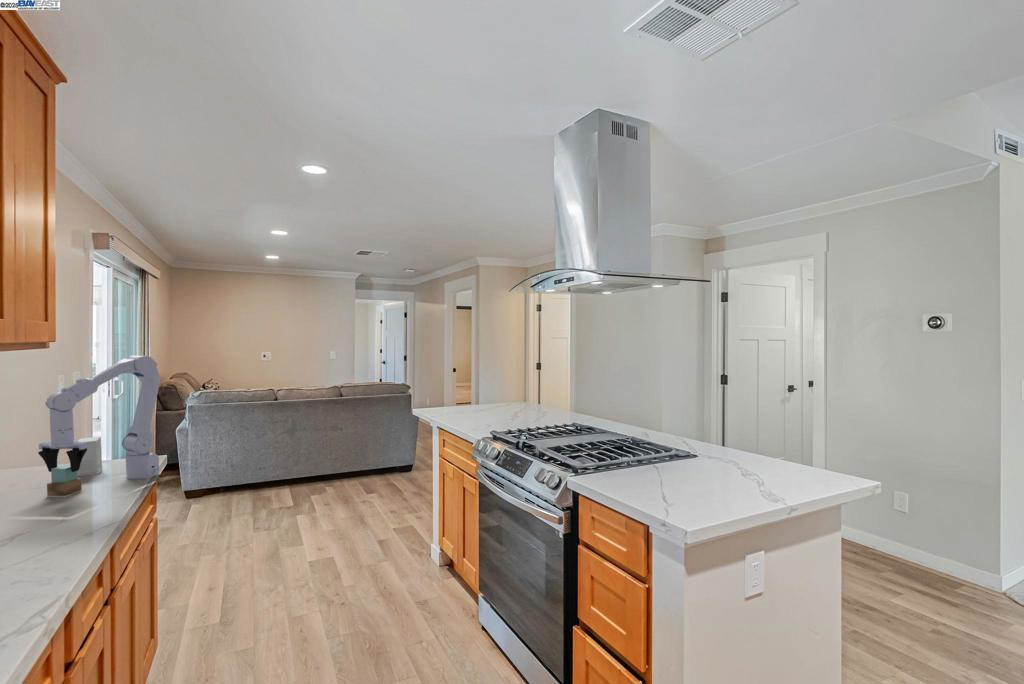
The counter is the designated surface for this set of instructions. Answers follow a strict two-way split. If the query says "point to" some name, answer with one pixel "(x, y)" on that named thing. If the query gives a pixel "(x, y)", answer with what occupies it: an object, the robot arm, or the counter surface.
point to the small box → (91, 457)
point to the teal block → (63, 474)
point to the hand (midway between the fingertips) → (64, 471)
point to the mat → (63, 496)
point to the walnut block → (64, 488)
